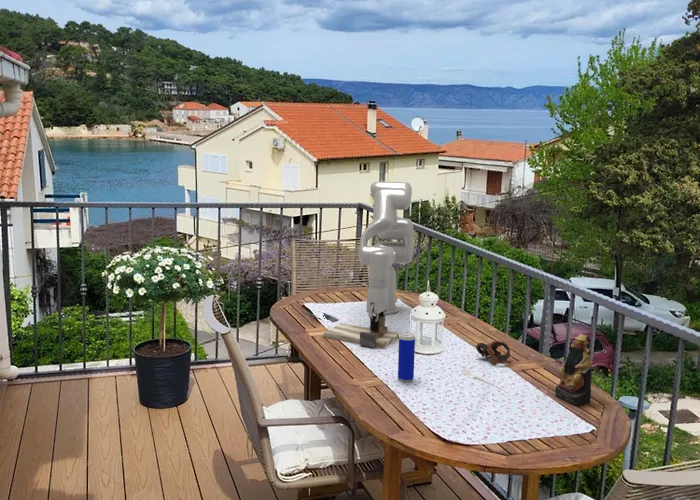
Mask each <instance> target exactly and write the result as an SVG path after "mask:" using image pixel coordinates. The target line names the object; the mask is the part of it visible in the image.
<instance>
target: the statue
mask: <svg viewBox="0 0 700 500" xmlns="http://www.w3.org/2000/svg"><path fill="white" fill-rule="evenodd" d="M589 339H590V338H589V336H588V335H585V334H582V333H578V335H577V336H575V337H574V341H573V343H571V344H570V347H571V348H570V350H569V353H568V355H567V357H566V358H565V360H564V361H562V362H561V363H560V367H559V368H558V373H559V377H560V378H559V381H560V382H559V384H557V385H556V386H555V392H554V393H555V397H557V398H559V399H560V400H562V401H564V402H565V403H568V404H570V405H572V406H575V407H581V406H586V405H585V404H588V405H590V404H589V403H591V400H592V375H593V373H592V372H593V365H592V358H591V352H592V351H591V350H590V349H589V346H590V342H589Z"/></svg>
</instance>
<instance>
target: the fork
mask: <svg viewBox="0 0 700 500" xmlns="http://www.w3.org/2000/svg"><path fill="white" fill-rule="evenodd" d="M461 370H462V372H463V374H464V375H465V376H466V377H468V378H471V379H477V380H479V381H480V382H484V383H485V384H487V385H489V386H492V387H494V388H496V389H499V390H501V391H503V392H506V393H509V390H507V389H504V388H503V387H500V386H499V385H498V384H497V385H496V384H495V383H493V382H491V381H489V380H487V379H485V378H483V377H482V376H479V375H476V374H475V373H473V372H472V371H471V369H469V368H468V367H467V366H465V367H463V368H461Z"/></svg>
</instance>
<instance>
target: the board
mask: <svg viewBox="0 0 700 500" xmlns="http://www.w3.org/2000/svg"><path fill="white" fill-rule="evenodd" d="M360 332H368V333H369V332H371V330H370V327H364V326H358V325H353V324H352V325H351V324H347V323H339V324H337V325H335V326H333V327H332V328H329V329H327V330H326V331H323V335H322V337H323V338H325V339H331V340H337V341H341V342H346V343H352V344H357V345H360ZM399 336H400V333H397V332H391V331H388V332H386V333H385V334H383V335H381V336H380V337H378V338H377V339H376V347H375V348H377V349H385V348H387V347H388V346H390V345H391V344H393V343H395V342H396V341H397V339H398V340H399ZM394 341H395V342H394Z"/></svg>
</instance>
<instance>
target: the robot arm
mask: <svg viewBox="0 0 700 500" xmlns="http://www.w3.org/2000/svg"><path fill="white" fill-rule="evenodd" d="M412 190H413V188H412V185H411V184H410V182H407V181H375V182H373V183H371V185H370V194H371V196H372V199H373V201H374V202H373V213H372V215H373V216H372V222H371V223H370V225H368V226H367V227H366V228H365V229H364V231H363V232H362V233H361V236H360V239H359V246H358V261H359V263H360V264H361V265H363V266H368V268H369V269H368V290H367V296H366V297H367V299H366V313H367V316H368V317H369V321H370V322H369V323H370V324H369V326H370V327H369V328H370V330H371V331H376V332H377V331H378V324H379V321H378V316H381V317H385V318H386V315H390V314H396V313H398V312H399V307H398V306H396V303H398V299H397V298H396V293H397V292H396V289H397V272H396V269H395V268H394V267H393V265H394V264H410V263H411V262H412V261H413V256H414V224H413V221H412V220H411V219H409V218H405V217H397V214H398V213H397V211H406V210H408V209H409V208H410V205H411V201H412V194H413V191H412ZM375 236H378V238H380V239H383V240H384V241H382V240H381V241H378V242H376V243H375V244H374V245H367V244H368V242H369V241H370V239H371V238H373V237H375ZM385 240H386V241H385ZM389 240H394V241H389ZM395 240H397V241H395ZM400 240H401V241H400ZM375 316H376V317H375Z"/></svg>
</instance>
